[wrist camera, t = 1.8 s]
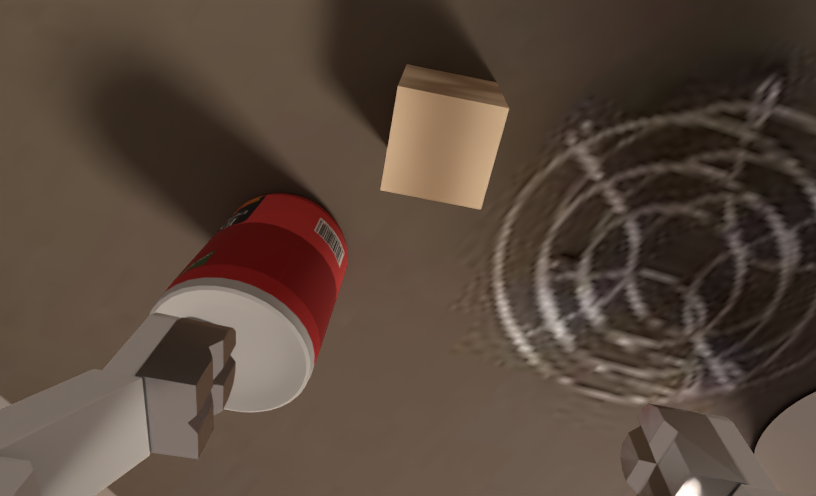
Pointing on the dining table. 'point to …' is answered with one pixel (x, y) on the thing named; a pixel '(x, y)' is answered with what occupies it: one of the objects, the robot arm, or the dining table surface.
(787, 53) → the dining table surface
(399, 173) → the oak block
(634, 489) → the robot arm
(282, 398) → the canned food
